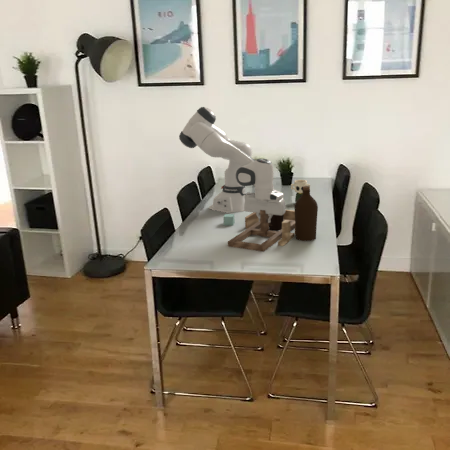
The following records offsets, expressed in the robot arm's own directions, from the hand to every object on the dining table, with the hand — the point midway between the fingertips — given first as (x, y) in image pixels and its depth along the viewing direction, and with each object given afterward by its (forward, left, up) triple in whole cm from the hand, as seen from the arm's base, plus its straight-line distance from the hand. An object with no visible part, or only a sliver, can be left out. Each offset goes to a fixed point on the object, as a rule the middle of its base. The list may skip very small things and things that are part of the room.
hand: (264, 222), depth 244 cm
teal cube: (-25, +10, -7) cm, 28 cm away
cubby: (0, +26, -7) cm, 27 cm away
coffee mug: (0, +13, -7) cm, 15 cm away
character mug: (-6, +63, -7) cm, 64 cm away
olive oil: (+19, +4, -7) cm, 21 cm away
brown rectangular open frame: (0, 0, -7) cm, 7 cm away
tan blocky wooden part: (+13, -4, -7) cm, 15 cm away
